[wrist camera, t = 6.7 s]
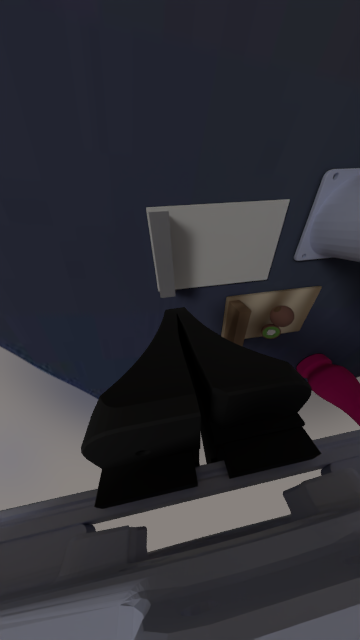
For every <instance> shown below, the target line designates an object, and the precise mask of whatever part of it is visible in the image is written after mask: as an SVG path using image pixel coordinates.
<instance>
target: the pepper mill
mask: <svg viewBox="0 0 360 640" xmlns="http://www.w3.org/2000/svg"><path fill="white" fill-rule="evenodd" d="M297 371H298V372H299V374H300V375H301V376H302V377H304V378H308V383H309V385H310V386H311V388H312V390H313V391H314V392H315V393H316V394H317V395H319V396H320V397H321V398H323V399H325V400H326V401H328V402H330V403H332V404H333V405H335V406H337V407H338V408H340V409H341V410H343V411H344V412H345V413H347V414H348V415H349V416H350V417H351V418H352V419H353V420H354V421H355V422H356V423H357V424H358V425H359V426H360V383H359V382H358V380H357V379H356V378H355V376H354V375H353V374H352V373H351V372H349V371H348V370H347V369H346V368H344V367H342V366H339V365H333V364H332V361H331V360H330V359H329V358H327V357H326V356H325V355H323V354H314V355H311V356H308V357H307V358H305V359H303V360H302V361H301V362H300V363H299V364H298V365H297Z"/></svg>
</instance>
